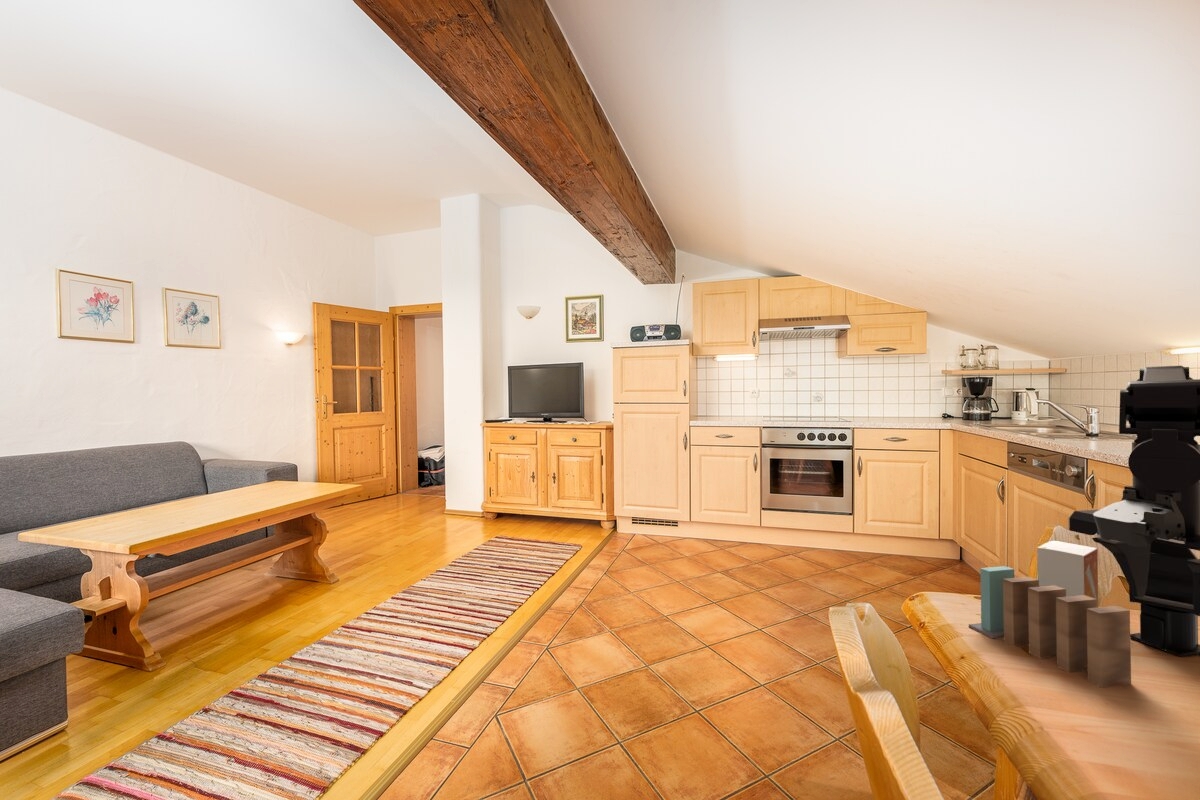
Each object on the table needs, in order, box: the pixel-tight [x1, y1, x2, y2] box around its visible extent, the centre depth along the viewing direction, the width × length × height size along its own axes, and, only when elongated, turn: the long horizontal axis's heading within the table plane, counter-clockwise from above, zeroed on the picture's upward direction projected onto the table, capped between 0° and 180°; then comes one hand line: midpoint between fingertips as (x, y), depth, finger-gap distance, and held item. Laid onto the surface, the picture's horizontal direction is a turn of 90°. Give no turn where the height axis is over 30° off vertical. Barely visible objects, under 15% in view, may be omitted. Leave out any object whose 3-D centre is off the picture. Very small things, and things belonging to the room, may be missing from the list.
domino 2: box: [1003, 576, 1039, 646], centre depth 81 cm, size 5×2×10 cm, turn 100°
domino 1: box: [979, 565, 1015, 632], centre depth 85 cm, size 5×2×10 cm, turn 101°
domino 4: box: [1056, 595, 1097, 673], centre depth 73 cm, size 5×2×10 cm, turn 100°
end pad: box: [968, 622, 1004, 639], centre depth 85 cm, size 7×4×1 cm, turn 100°
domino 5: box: [1087, 605, 1132, 688], centre depth 69 cm, size 5×2×10 cm, turn 100°
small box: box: [1036, 540, 1099, 607], centre depth 88 cm, size 8×6×13 cm
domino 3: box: [1028, 585, 1066, 659], centre depth 77 cm, size 5×2×10 cm, turn 100°
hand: (1168, 605), depth 63 cm, fingers open, 6 cm apart
